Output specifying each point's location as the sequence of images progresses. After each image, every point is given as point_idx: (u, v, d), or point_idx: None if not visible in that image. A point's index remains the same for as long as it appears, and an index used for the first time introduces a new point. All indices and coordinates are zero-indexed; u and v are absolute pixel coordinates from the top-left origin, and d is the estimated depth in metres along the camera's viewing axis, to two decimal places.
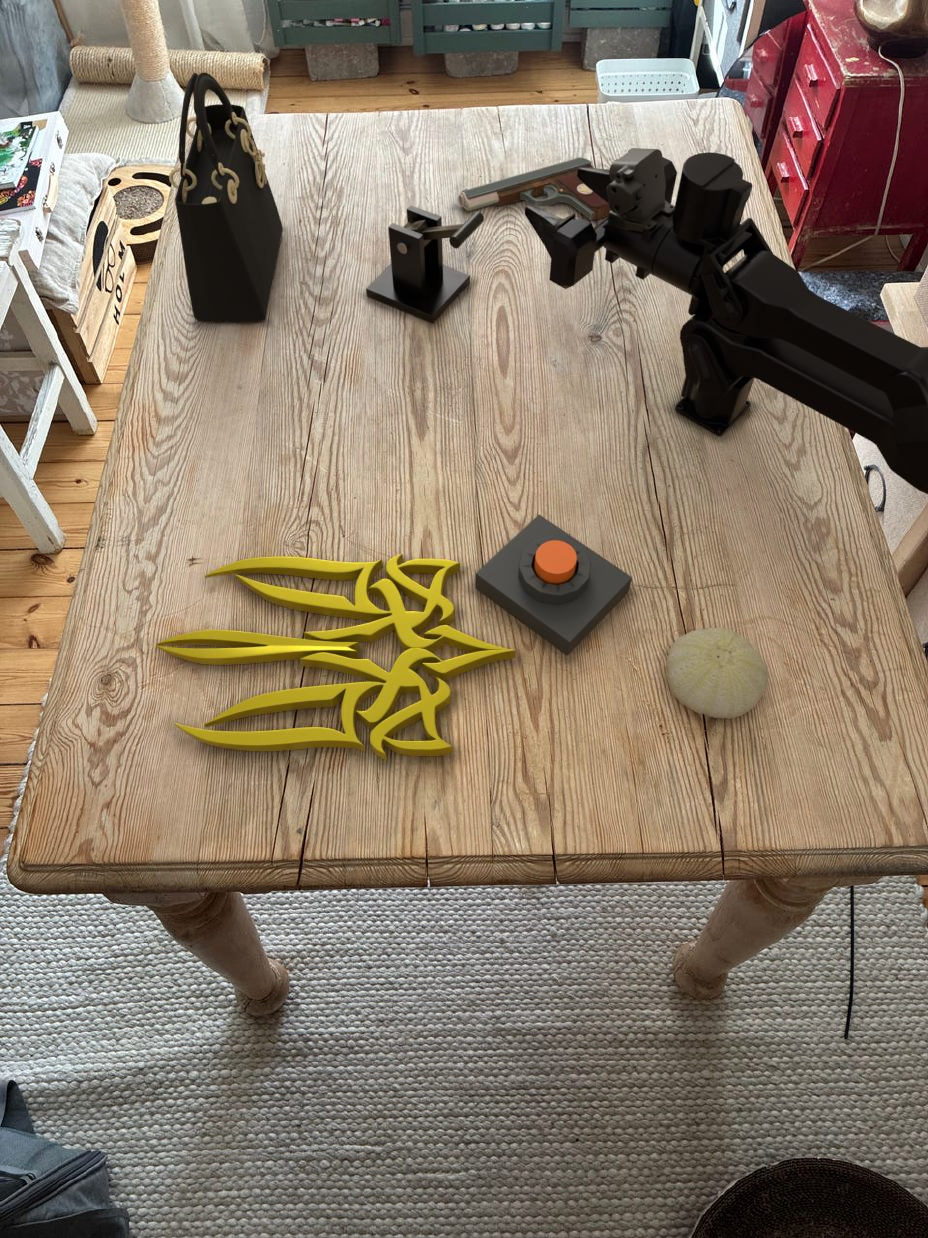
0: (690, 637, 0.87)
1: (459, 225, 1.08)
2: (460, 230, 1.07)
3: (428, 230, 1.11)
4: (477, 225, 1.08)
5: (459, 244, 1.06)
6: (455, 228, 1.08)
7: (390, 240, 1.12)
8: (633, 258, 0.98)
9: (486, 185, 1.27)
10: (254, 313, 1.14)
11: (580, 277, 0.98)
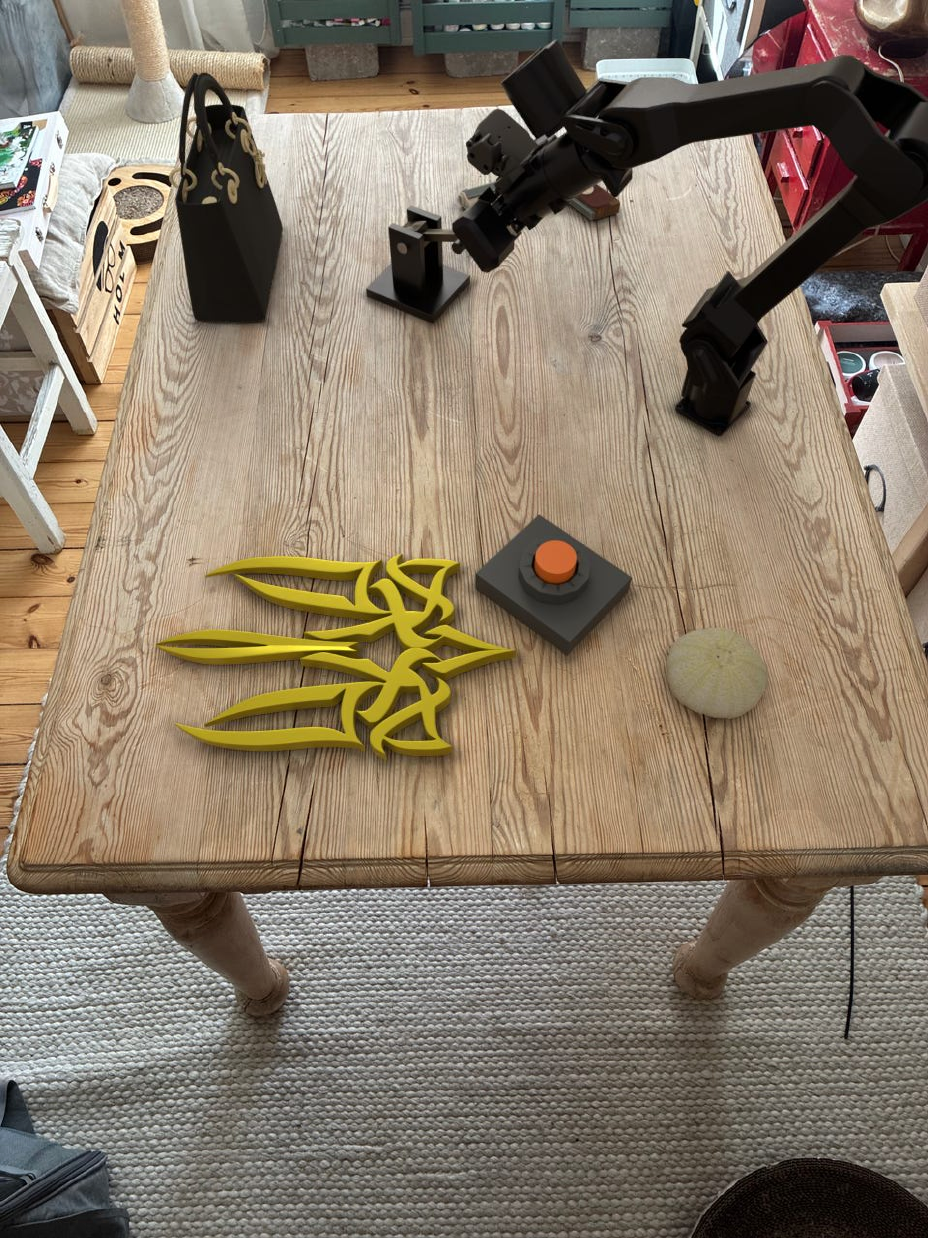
0: (690, 637, 0.87)
1: None
2: None
3: (429, 232, 1.11)
4: None
5: (461, 251, 1.07)
6: None
7: (390, 240, 1.12)
8: (538, 199, 0.96)
9: (486, 185, 1.27)
10: (254, 313, 1.14)
11: (502, 246, 0.97)
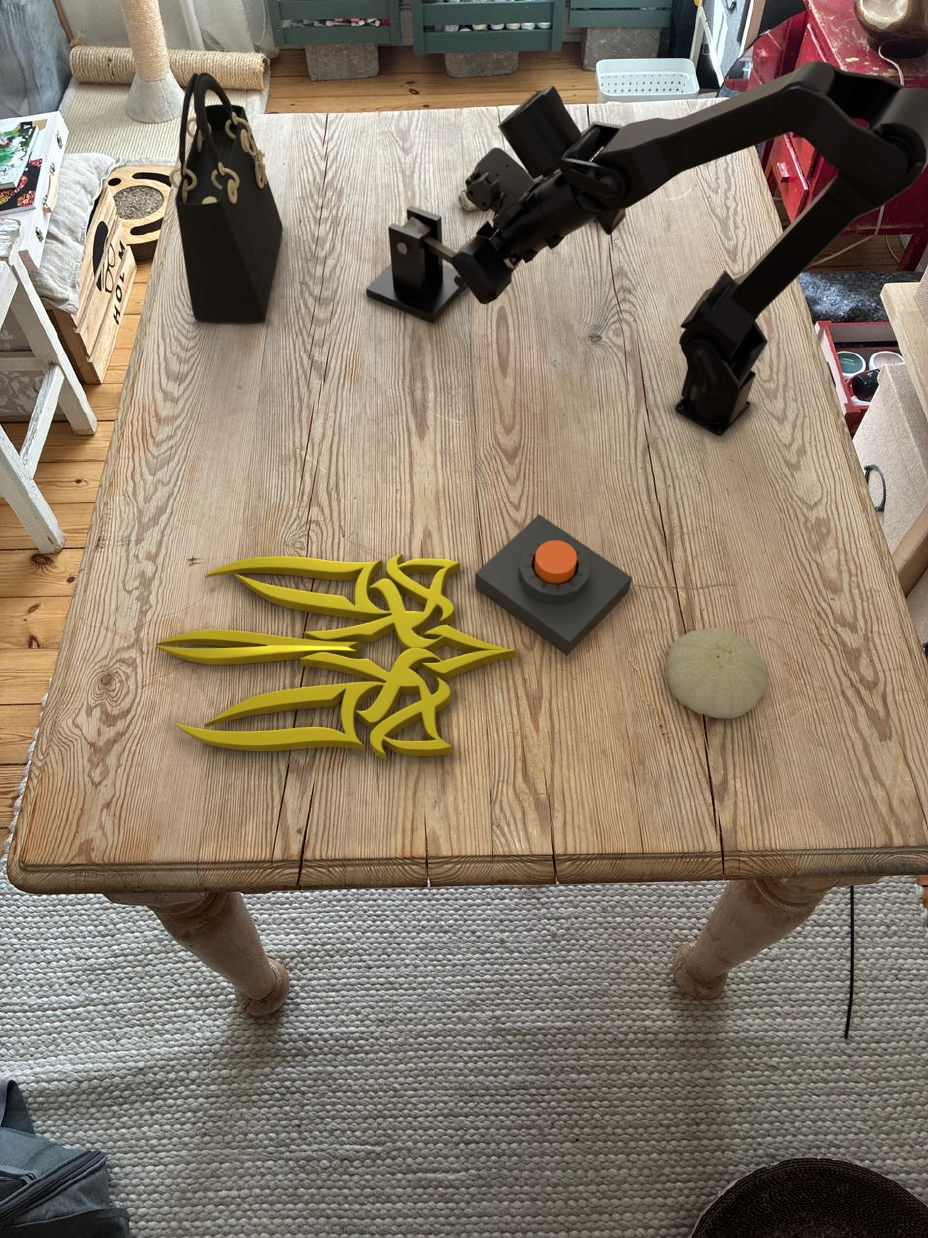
0: (690, 637, 0.87)
1: None
2: None
3: (432, 243, 1.12)
4: None
5: (462, 286, 1.11)
6: None
7: (390, 240, 1.12)
8: (534, 234, 1.00)
9: None
10: (254, 313, 1.14)
11: (500, 280, 1.00)
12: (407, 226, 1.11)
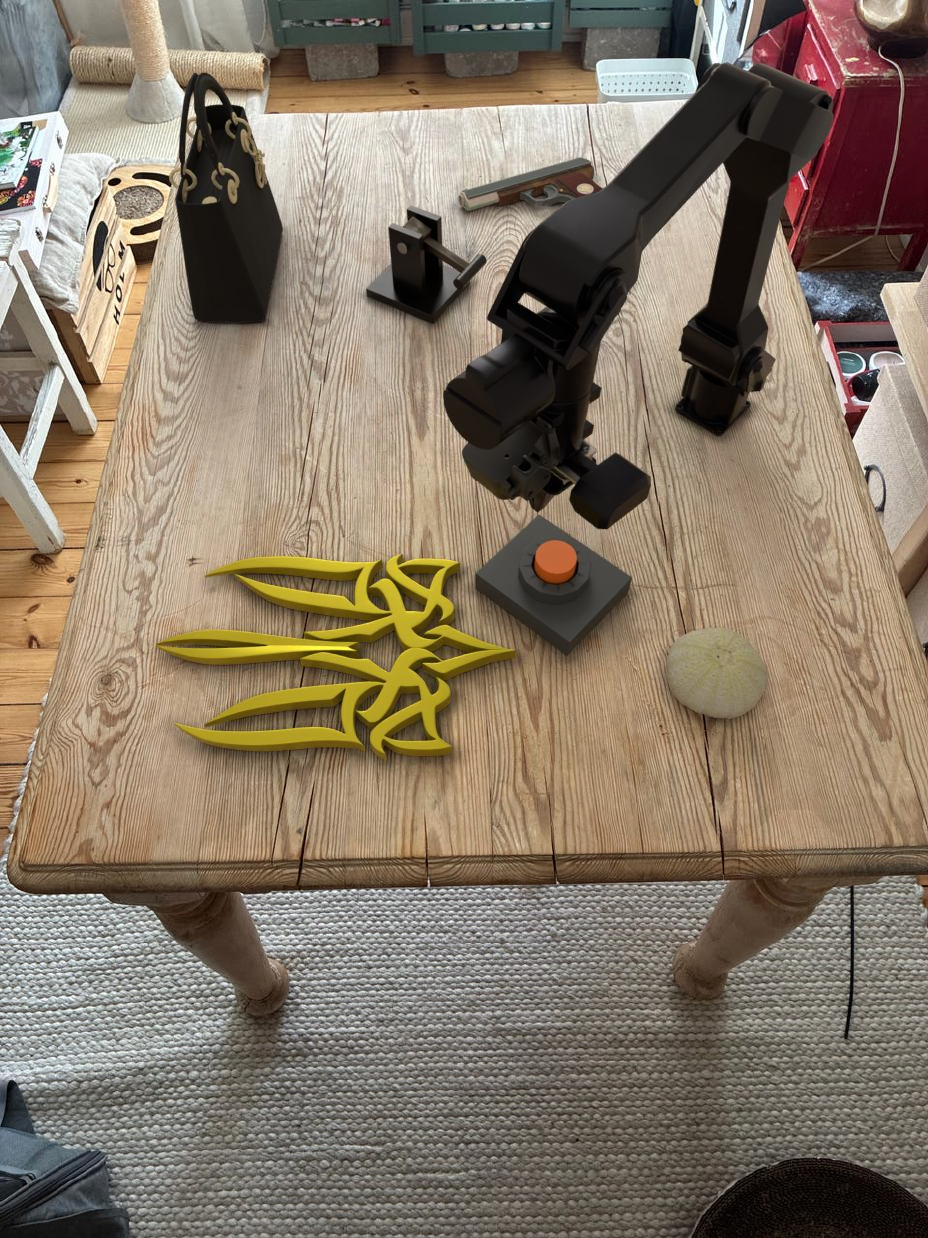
0: (690, 637, 0.87)
1: (465, 263, 1.12)
2: (467, 275, 1.11)
3: (432, 244, 1.12)
4: (479, 270, 1.13)
5: (461, 288, 1.11)
6: (460, 264, 1.12)
7: (390, 240, 1.12)
8: (584, 415, 0.75)
9: (486, 185, 1.27)
10: (254, 313, 1.14)
11: (632, 468, 0.76)
12: (407, 226, 1.11)
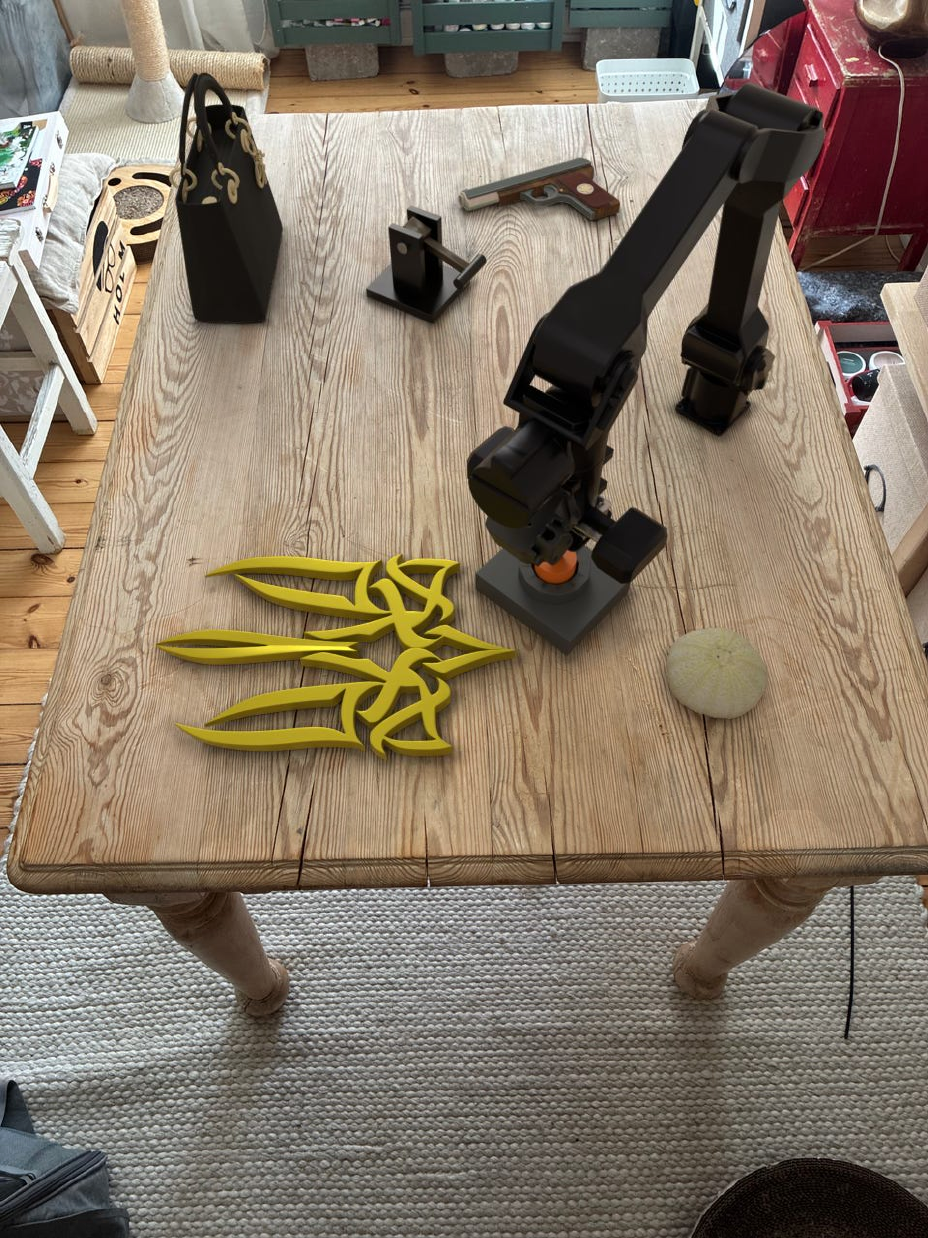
0: (690, 637, 0.87)
1: (465, 263, 1.12)
2: (467, 275, 1.11)
3: (432, 244, 1.12)
4: (479, 270, 1.13)
5: (461, 288, 1.11)
6: (460, 264, 1.12)
7: (390, 240, 1.12)
8: (599, 477, 0.78)
9: (486, 185, 1.27)
10: (254, 313, 1.14)
11: (648, 522, 0.79)
12: (407, 226, 1.11)
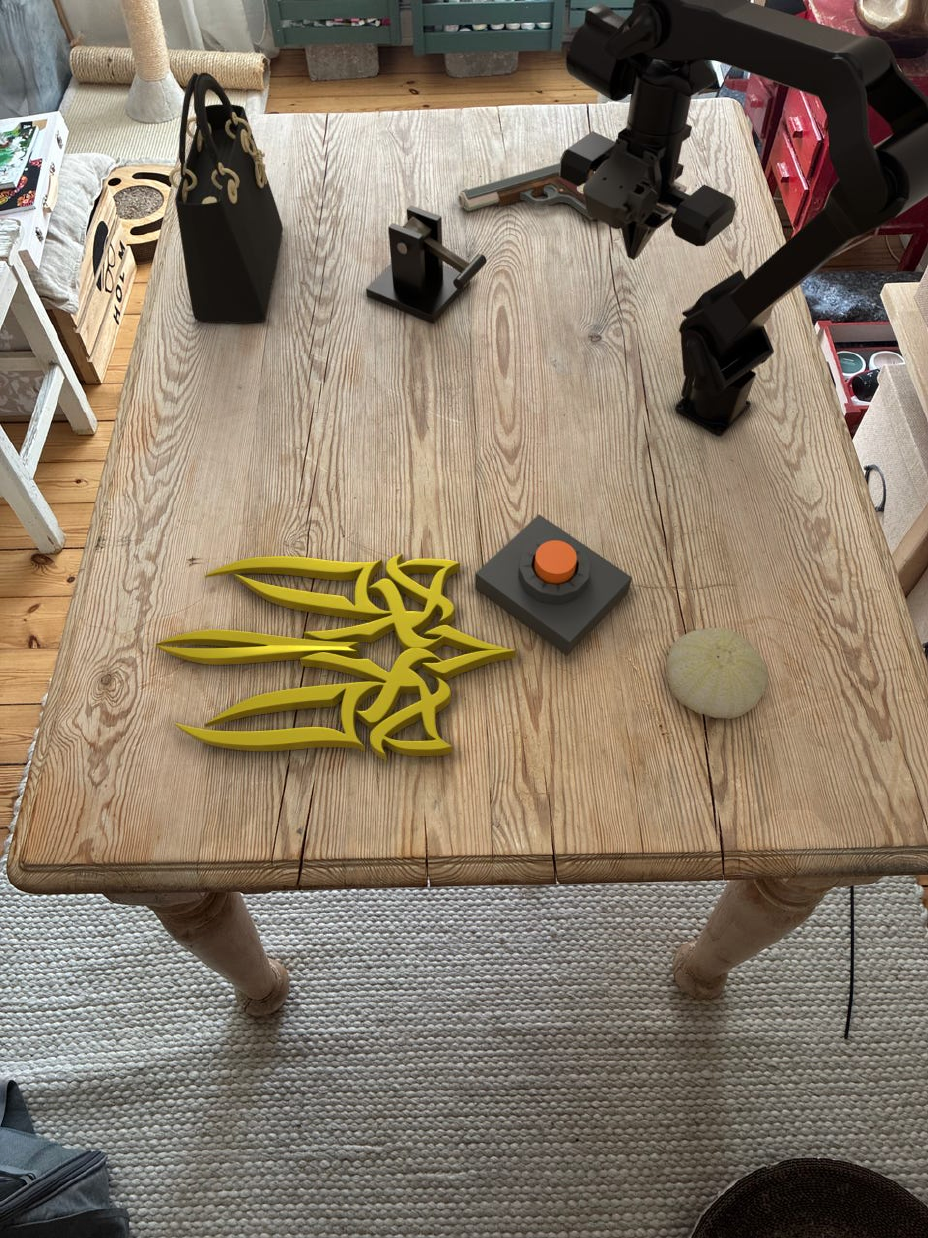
0: (690, 637, 0.87)
1: (465, 263, 1.12)
2: (467, 275, 1.11)
3: (432, 244, 1.12)
4: (479, 270, 1.13)
5: (461, 288, 1.11)
6: (460, 264, 1.12)
7: (390, 240, 1.12)
8: (679, 150, 0.92)
9: (486, 185, 1.27)
10: (254, 313, 1.14)
11: (720, 193, 0.94)
12: (407, 226, 1.11)
